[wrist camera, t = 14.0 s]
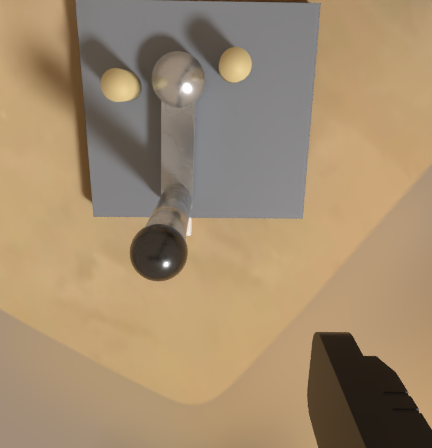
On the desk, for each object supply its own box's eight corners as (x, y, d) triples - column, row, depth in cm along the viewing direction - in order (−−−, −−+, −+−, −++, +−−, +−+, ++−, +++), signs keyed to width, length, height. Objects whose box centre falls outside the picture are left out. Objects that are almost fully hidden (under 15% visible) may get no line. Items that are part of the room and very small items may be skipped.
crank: (154, 52, 22) (107, 18, 12) (206, 54, 22) (201, 23, 12) (154, 211, 25) (116, 289, 15) (200, 213, 25) (193, 292, 15)
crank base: (83, 4, 23) (56, -15, 19) (313, 8, 23) (335, -10, 19) (101, 228, 27) (81, 252, 23) (296, 230, 27) (310, 254, 23)
